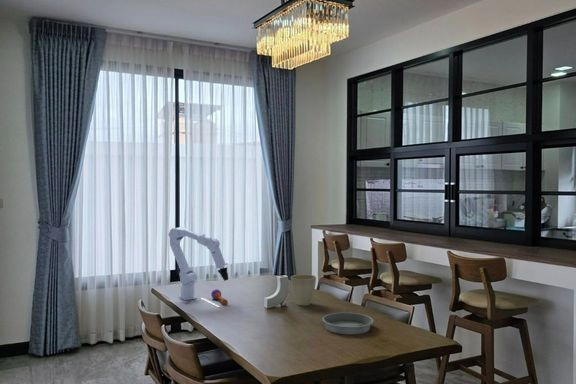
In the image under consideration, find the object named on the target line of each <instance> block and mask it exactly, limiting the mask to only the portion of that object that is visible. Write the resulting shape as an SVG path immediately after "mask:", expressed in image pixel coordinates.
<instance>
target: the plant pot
mask: <svg viewBox="0 0 576 384" xmlns="http://www.w3.org/2000/svg"><path fill="white" fill-rule="evenodd" d="M290 281H291V282H290V283H291V286H292V287H291V288H292V292H293V295H294V298H295V301H296V303H297V305H298V306H304V307H305V306H310V305H311V303H312V299H313V296H314V292H315V287H316V283H317V276H316V275H313V274H295V275H291V276H290Z"/></svg>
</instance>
